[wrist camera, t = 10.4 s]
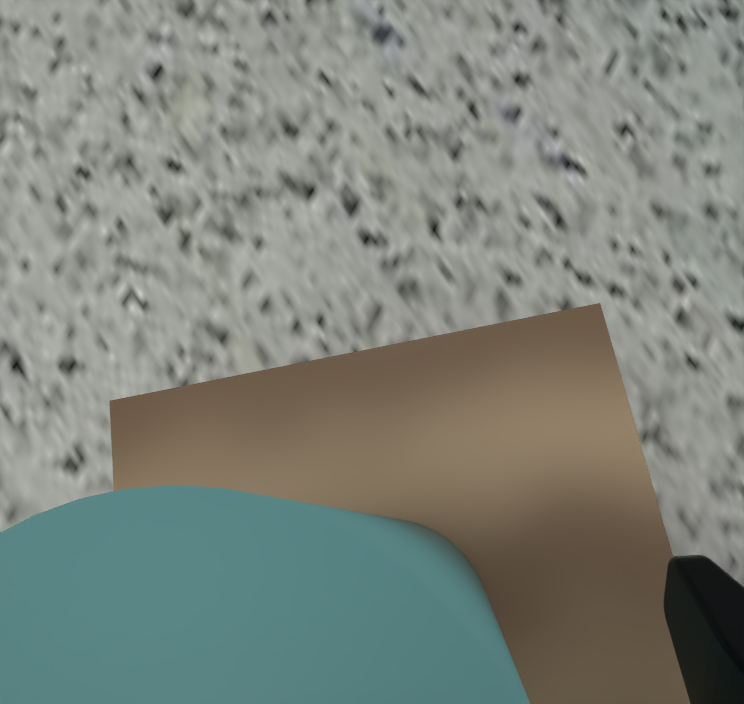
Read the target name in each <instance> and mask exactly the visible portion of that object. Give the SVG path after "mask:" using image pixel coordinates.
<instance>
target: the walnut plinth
mask: <svg viewBox="0 0 744 704" xmlns="http://www.w3.org/2000/svg"><path fill="white" fill-rule="evenodd" d="M110 419H111V439H112V459H113V480H114V491H118V490H123V489H129V488H141V487H154V486H166V485H184V486H201V487H217V488H226V489H232V490H237V491H243V492H249V493H254V494H260V495H266V496H271V497H277V498H282V499H288V500H294V501H299V502H305V503H311V504H316V505H322V506H328V507H333V508H339V509H344V510H350V511H356V512H361V513H367V514H373V515H378V516H384V517H390V518H395V519H401V520H406V521H411V522H415V523H418V524H421V525H423V526H426V527H428V528H430V529H432V530H434V531H436V532H438V533H439V534H441V535H442V536H444V537H445V538H447V539H448V540H449V541H451V542H452V543H453V544H454V545H455V546H456V547H457V548H458V549H459V550H460V551H461V552H462V553H463V554H464V555H465V557H466V558H467V559H468V560H469V562H470V563H471V565H472V566H473V568H474V569H475V571H476V572H477V574H478V576H479V578H480V580H481V582H482V585H483V587H484V589H485V592H486V594H487V597H488V599H489V602H490V604H491V607H492V609H493V612H494V614H495V617H496V619H497V622H498V624H499V627H500V629H501V632H502V634H503V637H504V639H505V642H506V644H507V647H508V649H509V652H510V654H511V657H512V659H513V662H514V664H515V667H516V669H517V672H518V674H519V677H520V679H521V682H522V684H523V687H524V689H525V692H526V694H527V697H528V699H529V702H530V704H690V700H689V697H688V694H687V690H686V687H685V683H684V680H683V677H682V673H681V670H680V666H679V663H678V660H677V656H676V653H675V649H674V646H673V643H672V639H671V636H670V632H669V629H668V626H667V622H666V618H665V613H664V603H663V602H664V592H665V583H666V575H667V566H668V562H669V560H670V559H671V558H672V557H673V555H672V551H671V548H670V544H669V541H668V538H667V534H666V531H665V527H664V524H663V520H662V517H661V513H660V510H659V506H658V503H657V499H656V496H655V492H654V489H653V485H652V482H651V479H650V475H649V472H648V468H647V465H646V461H645V458H644V454H643V451H642V447H641V444H640V440H639V437H638V433H637V430H636V426H635V423H634V420H633V416H632V413H631V409H630V406H629V402H628V399H627V395H626V392H625V388H624V385H623V381H622V378H621V374H620V371H619V367H618V364H617V361H616V357H615V354H614V350H613V347H612V343H611V340H610V336H609V333H608V329H607V326H606V322H605V319H604V315H603V312H602V308H601V305H600V303H599V304H594V305H589V306H584V307H579V308H574V309H569V310H564V311H559V312H554V313H549V314H543V315H538V316H533V317H528V318H523V319H518V320H513V321H508V322H503V323H498V324H493V325H488V326H483V327H478V328H473V329H468V330H463V331H458V332H453V333H448V334H443V335H438V336H433V337H428V338H423V339H418V340H413V341H408V342H403V343H398V344H393V345H388V346H383V347H378V348H373V349H368V350H363V351H358V352H353V353H348V354H343V355H338V356H333V357H328V358H323V359H318V360H313V361H308V362H303V363H298V364H293V365H288V366H283V367H277V368H272V369H267V370H262V371H257V372H252V373H247V374H242V375H237V376H232V377H227V378H222V379H217V380H212V381H207V382H202V383H197V384H192V385H187V386H182V387H177V388H172V389H167V390H162V391H157V392H152V393H147V394H142V395H137V396H132V397H127V398H122V399H117V400H112V401H110Z"/></svg>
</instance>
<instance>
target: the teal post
mask: <svg viewBox="0 0 744 704" xmlns="http://www.w3.org/2000/svg"><path fill="white" fill-rule="evenodd" d="M0 704H530V702H529V699H528V697H527V694H526V692H525V689H524V687H523V684H522V682H521V679H520V677H519V674H518V672H517V669H516V667H515V664H514V662H513V659H512V657H511V654H510V652H509V649H508V647H507V644H506V642H505V639H504V637H503V634H502V632H501V629H500V627H499V624H498V622H497V619H496V617H495V614H494V612H493V609H492V607H491V604H490V602H489V599H488V597H487V594H486V592H485V589H484V587H483V585H482V582H481V580H480V578H479V576H478V574H477V572H476V571H475V569H474V568H473V566H472V565H471V563H470V562H469V560H468V559H467V558H466V557H465V555H464V554H463V553H462V552H461V551H460V550H459V549H458V548H457V547H456V546H455V545H454V544H453V543H452V542H451V541H449V540H448V539H447V538H445V537H444V536H442V535H441V534H439V533H438V532H436V531H434V530H432V529H430V528H428V527H426V526H423V525H421V524H418V523H415V522H411V521H406V520H401V519H395V518H390V517H384V516H378V515H373V514H367V513H361V512H356V511H350V510H344V509H339V508H333V507H328V506H322V505H316V504H311V503H305V502H299V501H294V500H288V499H282V498H277V497H271V496H266V495H260V494H254V493H249V492H243V491H237V490H232V489H226V488H217V487H201V486H184V485H166V486H154V487H141V488H129V489H123V490H118V491H114V492H109V493H105V494H100V495H95V496H91V497H86V498H82V499H78V500H75V501H73V502H70V503H67V504H64V505H62V506H59V507H56V508H53V509H51V510H48V511H45V512H42V513H40V514H37V515H34V516H32V517H30V518H28V519H26V520H24V521H22V522H20V523H19V524H17V525H15V526H13V527H11V528H9V529H7V530H5V531H3V532H1V533H0Z"/></svg>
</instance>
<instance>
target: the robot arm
mask: <svg viewBox="0 0 744 704" xmlns="http://www.w3.org/2000/svg"><path fill="white" fill-rule="evenodd" d="M663 603H664V613H665V618H666V622H667V626H668V629H669V632H670V636H671V639H672V643H673V646H674V649H675V653H676V656H677V660H678V663H679V666H680V670H681V673H682V677H683V680H684V683H685V687H686V690H687V694H688V697H689V700H690V704H744V587H743V586H742V585H741V584H739V583H738V582H737V581H736V580H735V579H733V578H732V577H731V576H730V575H729V574H727V573H726V572H725V571H724V570H723V569H721V568H720V567H719V566H718V565H717V564H715V563H714V562H713V561H712V560H711V559H709V558H707V557H705V556H703V555H689V556H675V557H672V558H671V559H670V560H669V562H668V566H667V575H666V583H665V592H664V602H663Z"/></svg>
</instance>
